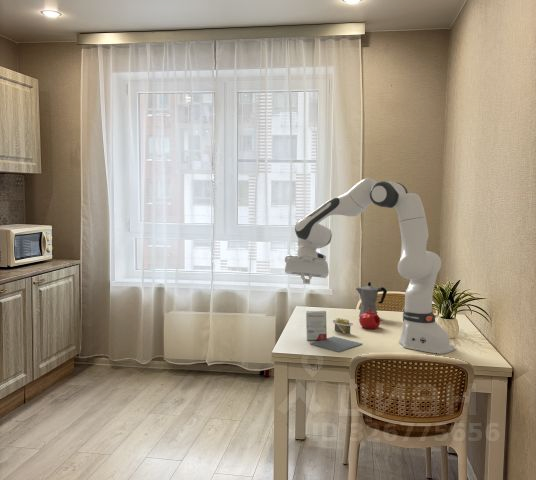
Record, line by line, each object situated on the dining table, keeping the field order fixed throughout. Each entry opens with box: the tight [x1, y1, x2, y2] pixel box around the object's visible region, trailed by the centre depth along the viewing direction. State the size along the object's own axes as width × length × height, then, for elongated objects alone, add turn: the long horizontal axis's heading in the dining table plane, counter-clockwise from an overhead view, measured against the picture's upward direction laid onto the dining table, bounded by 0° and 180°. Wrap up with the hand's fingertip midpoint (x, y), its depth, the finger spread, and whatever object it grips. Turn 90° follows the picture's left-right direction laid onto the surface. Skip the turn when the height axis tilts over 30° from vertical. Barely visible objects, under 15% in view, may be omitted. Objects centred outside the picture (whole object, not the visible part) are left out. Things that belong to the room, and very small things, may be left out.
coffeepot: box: [355, 281, 388, 318], centre depth 277 cm, size 15×9×18 cm, turn 87°
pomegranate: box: [358, 308, 382, 330], centre depth 258 cm, size 10×10×9 cm
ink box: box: [305, 310, 328, 341], centre depth 236 cm, size 9×5×12 cm, turn 84°
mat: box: [309, 335, 363, 353], centre depth 229 cm, size 15×16×1 cm
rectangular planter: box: [332, 317, 354, 334], centre depth 248 cm, size 12×18×7 cm, turn 52°
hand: (306, 283), depth 252 cm, fingers closed
